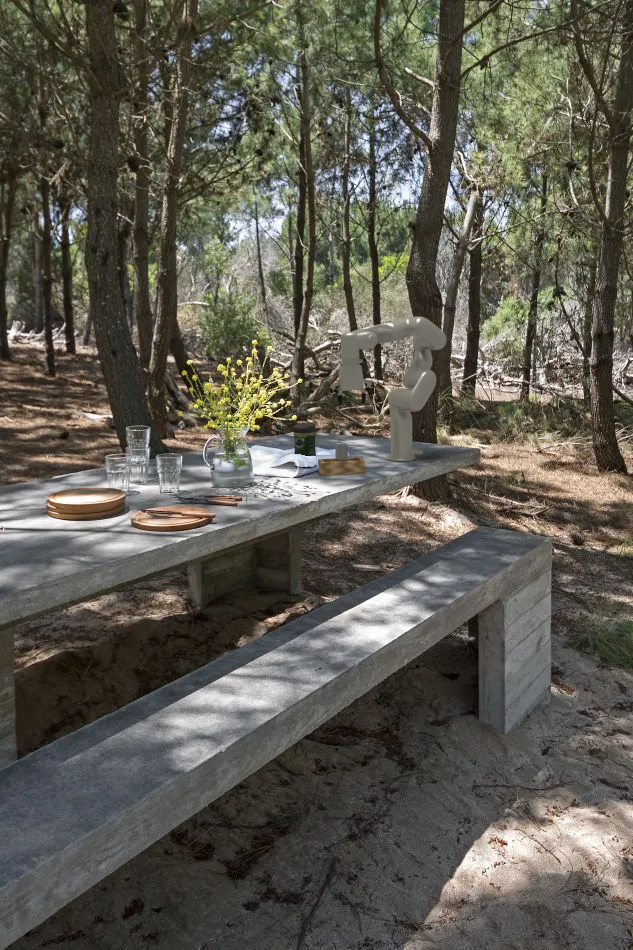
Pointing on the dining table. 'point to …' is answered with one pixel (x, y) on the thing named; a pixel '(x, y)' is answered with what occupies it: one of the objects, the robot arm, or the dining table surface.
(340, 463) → the wooden box
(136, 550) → the dining table surface
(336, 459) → the grey rectangular block
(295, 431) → the coffee jar
